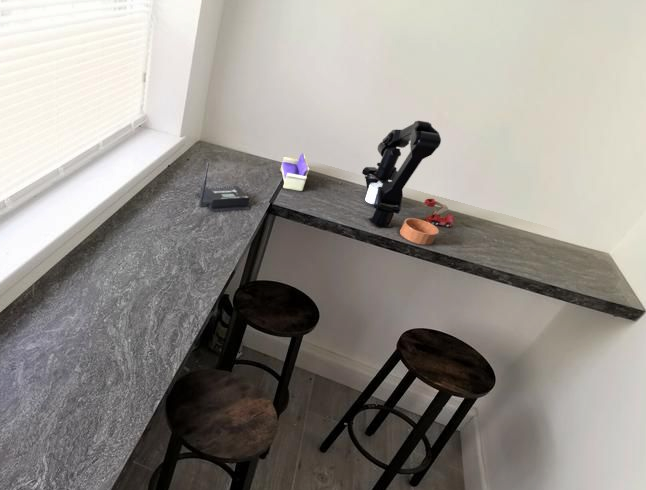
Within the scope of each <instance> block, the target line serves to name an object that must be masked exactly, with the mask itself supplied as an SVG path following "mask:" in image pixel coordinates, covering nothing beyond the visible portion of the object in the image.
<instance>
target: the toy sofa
mask: <svg viewBox="0 0 646 490" xmlns="http://www.w3.org/2000/svg"><path fill="white" fill-rule="evenodd" d="M309 171H310V167H309V164H308V162H307V158H306V153H301V154H300V155H299V158H293V157H289V156H283V159H282V162H281V165H280V169H279V172H281V173H282V174H281V175H282V180H283V186H282V187H283V189H287V190H292V191H293V190H294V191H299V192H302V191H303V190H304V187H305V184H306V180H307V179H308V177H307V176H308V174H309Z"/></svg>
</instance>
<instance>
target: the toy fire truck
mask: <svg viewBox="0 0 646 490" xmlns="http://www.w3.org/2000/svg"><path fill="white" fill-rule="evenodd" d="M424 205H425V206H426V207H429V208H434V207H435V206H438V207H439V208H438V209H436V210H435V211H433V212H432V214H431V215H426V218H425V221H427V222H429V223H431V224H433V225H434V226H438V225H439V226H443V227H444V226H445V227H446V228H449V227H452V226H453V224H454V222H455V216H454V215H453V214H450V213H447V214H446V216H445V217H442V216H441V215H440V214H442V213H444V212H446V211H448V210H449V207H448V205H447V204H444V203H441V202H440V201H437V200H435V198H426V199H425V200H424Z"/></svg>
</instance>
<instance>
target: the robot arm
mask: <svg viewBox="0 0 646 490" xmlns="http://www.w3.org/2000/svg"><path fill="white" fill-rule="evenodd" d="M441 142H442V138H441V136H440V132H439V131H438V130H436V129H435V128H434V127H433V126H432V123H430V122H429V121H424V120H415V121H414V122H413V123H412V124H410V125H408V126H407V127H404V128H402V129H392V130H391V131H390V132H389V133H388V134H387V135H385V137H384V138H383V139H382V141H381V142H380V143H379V144H378V145H377V152H378V153H379V155H380V156H381V159H380V162H377V163H376V166H377V167H374V166H366V167H364V168H363V169H362V172H361V174H362V175H364V179H365V184H366V185H365V186H366V193H367V192H368V189H369V185H370V183H379V182H380V184H382V187H378V192H377V195H376V199H375V202H374V204H373V207H372V208H374V209H375V211H374V213H373V215H372V217H369V218H368V220H369V221H370V222H371V223H372V224H373V225H374V226H375V227H376V228H392V225H391V222H392V220H393V218H394V216H395V214H399V213H400V212H401V210H402V204H403V203H402V202H403V197H404V194H403V193H404V192H403V189H404V187H405V186H406V185H407V183H408V182H409V180H410V178H411V177H412V176H413V174H414V173H415V172H416V171H417V168H419V165H420V164H421V163H422V161H423V160H424V159H426V158H428V157H430V156H432V155H433V154H434V153H435V152H436V151H437V149H438V148H439V147H440V145H441ZM408 145H410V151H409V153H408V154H407V155H406V158H405V159H404V161H403V163H401V165H400V167H399V169H398V167H396V165H397V162H398V160H399V158H400V157H401V156H402V152H401V149H404V148H406V147H407V146H408ZM397 169H398V170H397Z"/></svg>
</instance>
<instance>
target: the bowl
mask: <svg viewBox="0 0 646 490" xmlns="http://www.w3.org/2000/svg"><path fill="white" fill-rule="evenodd" d="M439 232H440V230H439V228H438V227H437V225H435V224H431V223H429V222H427V221H426V220H424V219H420V218H415V217H408V218H405V220H404V221H403V222H402V225H401V227H400V229H399V234H400V235H401V237H402V238H404V239H406V240H407V241H409V242H412V243H413V244H414V243H415V244H417V245H424V246H429V245H432V244H433V243H434V242H435V240H436V238H437V236H438V234H439Z"/></svg>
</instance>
